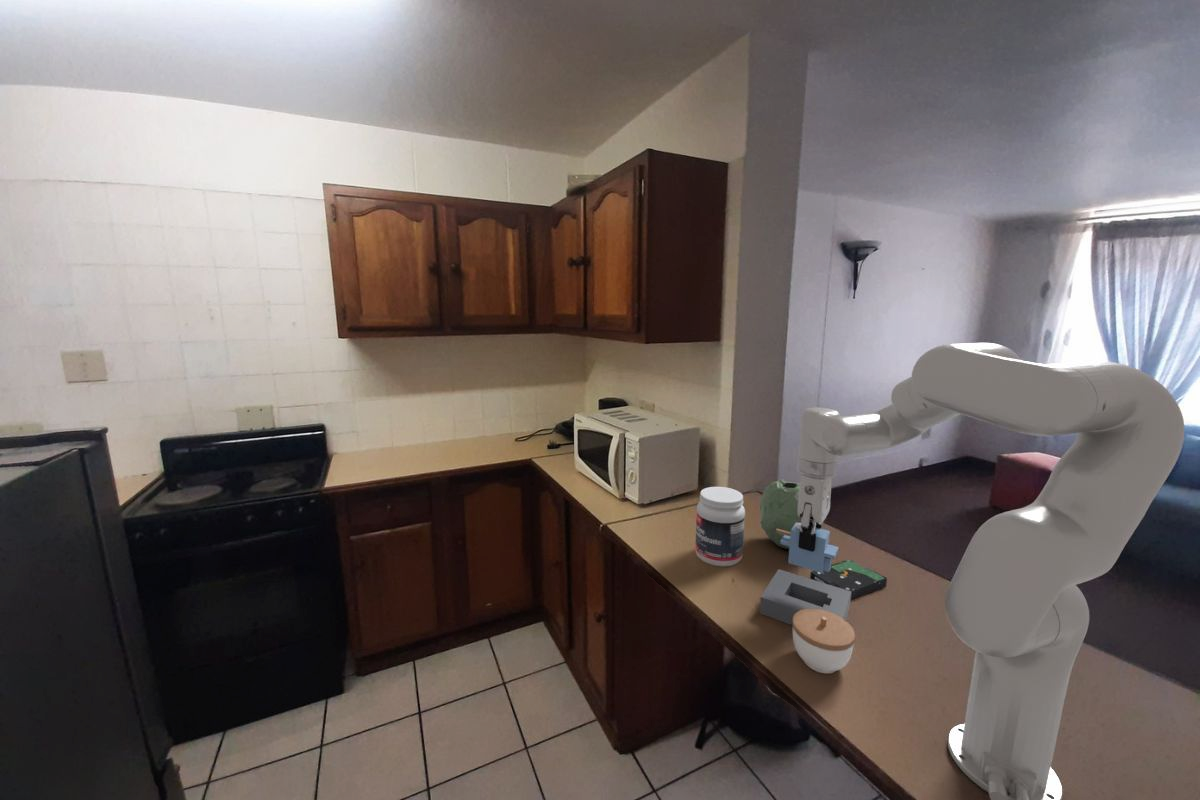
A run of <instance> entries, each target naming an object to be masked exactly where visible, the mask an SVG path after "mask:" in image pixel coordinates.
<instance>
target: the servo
mask: <svg viewBox="0 0 1200 800" xmlns="http://www.w3.org/2000/svg"><path fill="white" fill-rule="evenodd" d="M800 527H801V523H797V522H796V523H795V525H794V526H793V528H792V529H791V532H788V531H784V530H780V529H776V533H779V534H783V535H784V536H783V538H782V539H781V541H780V544H783V545H786V546H790V548H789V549H788V562H787V563H788V564H790V565H794V566H797V567H800V568H803V569H807V570H811V571H816V572H819V573H823V571H826V572H829V571H830V569H831V565H832V560H836V556H837V554H838V552H839V549H840V548H839V547H840V546H835V545H832V544H829V543H830V533H831V532H830V531H831V530H827V529H825V528H821V529H820V528H816V527H815V534H816V541H815V550H814V552H811V551H808V550H804V549H801V548H799V547H798V544H799V533H800ZM811 527H812V526H811Z"/></svg>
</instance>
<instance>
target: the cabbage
mask: <svg viewBox="0 0 1200 800" xmlns="http://www.w3.org/2000/svg"><path fill="white" fill-rule="evenodd" d="M799 490H800V482H795V481H793V482H792V481H790V480H788V481H786V480H784V479H783V478H781V479H780V480H777V481H772V482H771V483H770V484H768V485H767V487H766V486H765V488H764V490H763V493H762V496H761V500H760V502H759V503H760V504H759V512H760V524H761V529H762V530H763V531H764V532H765V534H766V536H767V537H768V538H769V539H770V540H771V541H772V542H773V543H774V544H776V545H777V546H778V547H780V548H783V549H786V550H789V548H790V546H786V545H783V544H780V541H781V539H782V538H783V536H784V535H783V534H779V533H776V529H780V530H784V531H788V532H791V529H792V528H793V526H794V525H795V523H796V522H797V523H801V520H802V518H801V519H799V518H798V515H797V513H798V499H799ZM827 519H828V518H827V517H826V518H825V520H827ZM823 524H824V521H823V522H822V523H821V524H820V525H821V529H823V528H822V527H823Z"/></svg>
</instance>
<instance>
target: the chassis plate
mask: <svg viewBox="0 0 1200 800" xmlns="http://www.w3.org/2000/svg"><path fill="white" fill-rule="evenodd" d="M851 600H852V599H851V591H848V590H845V589H841V588H838V587H835V586H832V585H828V584H825V583H822V582H819V581H815V580H812V579H810V577H805V576H803V575H800V574H796V573H792V572H789V571H786V570H783V569H777V571H776V572H775V574H774V576H773V577H772V578H771V580H770V582H769V583H768V585H767V586H766V588H765V590H764V591H763V593H762V594H761V595H760V602H759V603H760V604H759V614H761V613H762V615H764V614H765V615H764V616H766V615H767V617H771V618H772V619H775V620H778V621H781V622H783V623H786V624H788V625H791V626H793V624H792V620H793V616H794V614H795V613H797V612H798V611H800V610H803V609H820V610H824V611H828V612H831V613H833V614H835V615H837V616H839V617H841V618H842V619H844V620H845V621H846V622H847V618H848V614H849V612H850V607H851Z"/></svg>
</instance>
